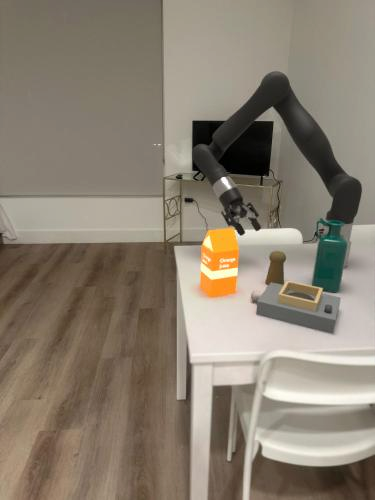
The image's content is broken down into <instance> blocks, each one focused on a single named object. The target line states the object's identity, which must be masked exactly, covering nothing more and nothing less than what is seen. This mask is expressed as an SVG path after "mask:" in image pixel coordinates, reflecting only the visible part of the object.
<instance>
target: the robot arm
mask: <svg viewBox="0 0 375 500" xmlns="http://www.w3.org/2000/svg"><path fill="white" fill-rule="evenodd" d="M271 108H273V109H274V110H275V112H276V113H277V114H278V115H279V117H280V118H281V121H282V122H283V124H284V125H285V127H286V130H287V132H288V134H289V136H290V138H291V139H292V142H294V145H295V146H296V148H297V149H298V150H299V152H300V153H301V154H302V156H303V157H304V158H305V159H306V161H307V162H308V163H309V164H310V166H311V167H312V168H313V169H314V170H315V171H316V172H317V174H318V175H319V177H320V179H321V181H322V183H323V185H324V186H325V188H326V189H325V190H327V192H328V194H329V196H330V197H331V198H332V202H331V208H329V210H328V211H327V212H326V215H325V219H324V221H325V222H327V221H330V220H335V221H341V222H343V223H345V225H344V226H342V227H341V235H343V236H345V237H346V239H347V243H348V248H347V253H346V258H345V264H344V269H345V268H346V267H348V262H349V257H350V253H351V247H352V242H351V238H352V237H351V236H352V230H353V224H354V221H355V217H356V216H357V215H358V211H359V209H360V203H361V199H362V193H363V186H362V183H361V181H360V180H359V179H357V177H353V176H351V175H349V174H348V173H347V172H346V171H345V170H344V169H343V168H342V166H341V165H340V164H339V162H338V161H337V159H336V157H335V154H334V151H333V148H332V145H331V143H330V141H329V139H328V137H327V135H326V134H325V132H324V130H323V128H322V127H321V126H320V125H319V124H318V122H317V121H316V120H315V119H314V117H313V116H312V115H311V114H310V113H309V111H308V110H307V109H306V108H305V107H304V106H303V105H302V104H301V102H300V100H299V99H298V98H297V95H296V94H295V92H294V91H293V89H292V87H291V83H290V80H289V78H288V76H287V75H286V74H285V73H284V72H282V71H277V70H275V71H271V72H268V73H267V74H266V75H265V76H264V77H263V78H262V79H261V81H260V83H259V86H258V87H257V88H256V90H255V91H254V93H253V94H252V95H251V96H250V97H249V99H248V100H247V101H246V102H245V103H243V105H242V106H241V107H240V108H239V109H237V110H236V111H235V112H234V113H233V114H232V115H230V116H229V117H228V118H227V119H226V120H225V121H224V122H223V123H222V124H221V125H220V126H219V127H218V128H217V129H216V130H215V132H213V134H212V136H211V137H212V142H211V143H210V144H209V145H208V144H204V143H200V144H197V145H196V146H194V147H193V148H192V151H191V157H192V160H193V162H194V164H195V165H196V166H197V168H198V169H199V170H200V171H201V172H202V174H203V175H204V176H205V177H206V178H207V180H208V182H209V184H210V186H211V187H212V189H213V191H214V194H215V195H216V197H217V198H218V200H219V203H220V204H221V205H222V207H223V209H222V210H221V212H220V213H221V215H222V217H223V219H224V220H225V223H226V224H227V226H228V227H231V226H232V228H234V230H236V231H235V232H237V234H238V235H239V236H240V237H241V236H244V235H245V234H246V230H245V229H244V227H243V225H242V224H241V223H240V219H244V220H247V221H249V222H250V224H251V226H252V227H253V228H254V230H255V232H258V231H260V230H261V229H262V227H261V224H260V222H259V221H258V219H257V218H258V217H259V216H260V214H259V213H258V212H257V209H256V208H255V207H254V204H252V202H250V201H249V202H248V203H246V204H245V202H244V196H243V195H242V192H241V191H240V189H239V188H238V187H237V185H236V184H235V181H234V180H233V179H232V178H231V177H230V175H229V173H228V171H227V170H226V169H225V167H224V165H222V164H221V163H219V161H220V160H221V158H222V157H223V155H224V154H225V152H226V151H227V149H228V148H229V147H230V146H231V145H232V144H233V143H235V141H237V139H238V138H239V137H240V136H241V135H242V134H243V133H245V131H247V129H248V128H249V127H250V126H251V125H252V124H253V123H254V122H255V121H257V120H258V119H259V117H261V116H262V115H263V114H265V112H267V111H268V110H269V109H271ZM323 227H324V228H323V233H328V229H329V227H327V226H323Z"/></svg>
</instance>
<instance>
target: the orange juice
mask: <svg viewBox="0 0 375 500" xmlns="http://www.w3.org/2000/svg"><path fill="white" fill-rule="evenodd" d="M239 253H240V248H239V244H238V240H237V236H236V231H235V227H229V228H221V229H220V228H219V229H210V230H209V229H208V230H207V233H206V235H205V238H204V240H203V242H202V244H201V254H200V255H201V256H200V257H201V258H200V281H199V282H200V284H199V287H200V289H201V290H202V291H203V292H204V293H205V294H206V295H207V296H208V297H209V298H210V299H212V298H217V297H221V296H222V297H223V296H228V295H232V294H233V295H234V294H236V293H237V284H238V283H237V282H238V272H239V271H238V267H239V257H240V254H239Z"/></svg>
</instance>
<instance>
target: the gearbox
mask: <svg viewBox="0 0 375 500" xmlns="http://www.w3.org/2000/svg"><path fill="white" fill-rule="evenodd" d="M322 290H323V288H320V287H315V286H312V285H311V284H310V285H309V284H305V283H300V282H295V281H290V280H286V281H284V285H281V284H277V283H272V282H271V283H270V284H269V286H268V285H267V287H266V288H265V289H264V292H262V291H258V290H254V289H253V290H252V291H251V293H250V300H254V301H257V302H256V303H257V304H256V310H255V313H256V315H259V316H261V317H266V318H269V319H273V320H277V321H282V322H285V323H288V324H289V323H290V324H293V325H295V326H296V325H297V326H300V327H305V328H310V329H312V330H315V331H320V332H324V333H328V334H331V335H333V334H334V330H335V326H336V321H337V318H338V312H339V308H340V303H341V299H342V298H341V297H340V296H337V295H331V294H327V293H323V291H322Z"/></svg>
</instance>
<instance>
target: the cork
mask: <svg viewBox="0 0 375 500" xmlns="http://www.w3.org/2000/svg"><path fill="white" fill-rule="evenodd" d="M268 258H269V261H270V263H269V266H268V271H267V274H266V279H265V282H264V283H265V285H266V286H267V287H268V286H269V284H270V283H271V282H272V283H277V284H281V285H284V284H285V272H284V271H285V270H284V267H285V266H284V265H285V262H286V259H287V255H286V253H285V252H283V251H280V250H273V251H271V252H270V253H269V257H268Z"/></svg>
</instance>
